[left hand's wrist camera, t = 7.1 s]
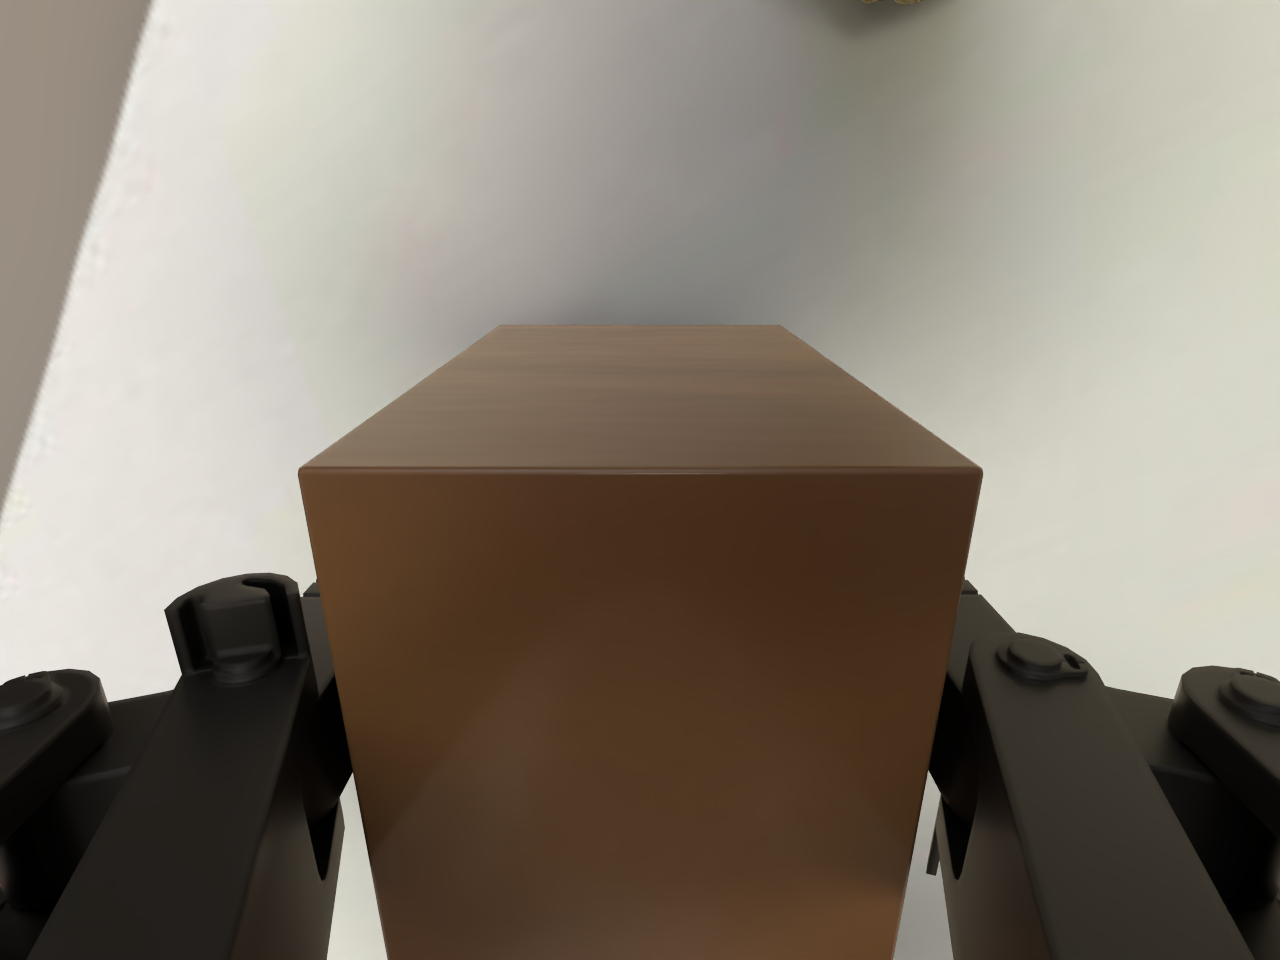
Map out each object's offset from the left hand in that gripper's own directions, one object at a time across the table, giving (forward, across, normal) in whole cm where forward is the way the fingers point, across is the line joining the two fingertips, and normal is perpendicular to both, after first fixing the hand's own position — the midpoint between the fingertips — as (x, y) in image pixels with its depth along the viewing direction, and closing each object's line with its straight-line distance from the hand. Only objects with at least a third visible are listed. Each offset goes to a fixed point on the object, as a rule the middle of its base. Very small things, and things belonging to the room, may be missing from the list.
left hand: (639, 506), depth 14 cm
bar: (+1, 0, -7) cm, 7 cm away
